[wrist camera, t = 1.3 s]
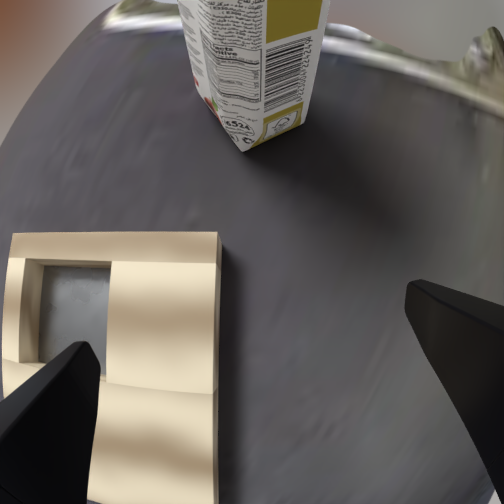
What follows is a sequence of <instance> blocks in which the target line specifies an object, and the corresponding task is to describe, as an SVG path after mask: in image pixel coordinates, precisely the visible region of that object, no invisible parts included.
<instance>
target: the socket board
mask: <svg viewBox="0 0 504 504" xmlns="http://www.w3.org/2000/svg"><path fill="white" fill-rule="evenodd" d="M221 259H222V243H221V240H220V238H219V235H218V232H52V233H13V237H12V242H11V248H10V254H9V261H8V268H7V276H6V285H5V296H4V308H3V327H2V373H3V392H4V399H5V398H6V397H7V396H8V395H9V394H11V393H12V392H13V391H14V390H15V389H17V388H18V387H19V386H20V385H21V384H23V383H24V382H25V381H26V380H27V379H29V378H30V377H31V376H32V375H34V374H35V373H36V372H37V371H38V370H40V369H41V368H42V367H43V366H45V365H46V364H47V363H48V362H50V361H51V360H52V359H53V358H55V357H56V356H57V355H58V354H60V353H61V352H62V351H63V350H65V349H66V348H67V347H68V346H70V345H71V344H72V343H73V342H76V341H87V342H89V343H90V345H91V347H92V349H93V351H94V353H95V355H96V356H97V358H98V360H99V362H100V365H101V376H100V388H99V402H98V414H97V422H96V428H95V434H94V441H93V448H92V456H91V464H90V473H89V483H88V494H87V499H89V500H92V501H95V502H99V503H102V504H219V496H218V366H219V319H220V286H221Z"/></svg>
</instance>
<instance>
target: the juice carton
mask: <svg viewBox="0 0 504 504" xmlns="http://www.w3.org/2000/svg"><path fill="white" fill-rule="evenodd" d="M330 1H331V0H177V2H178V7H179V11H180V16H181V21H182V25H183V30H184V35H185V39H186V44H187V48H188V53H189V57H190V62H191V66H192V71H193V75H194V80H195V84H196V88H197V90H198V92H199V94H200V96H201V97H202V98H203V100H204V101H205V103H206V104H207V105H208V107H209V108H210V109H211V111H212V112H213V113H214V114H215V115H216V116H217V118H218V119H219V121H220V123H221V124H222V126H223V127H224V129H225V130H226V131H227V133H228V134H229V136H230V137H231V139H232V140H233V141H234V143H235V144H236V146H237V147H238V148H239V149H240V150H241V151H242V152H244V151H246V150H249V149H251V148H253V147H255V146H257V145H259V144H261V143H263V142H265V141H267V140H269V139H271V138H273V137H275V136H277V135H280V134H282V133H284V132H286V131H288V130H290V129H292V128H295V127H297V126H299V125H301V124H302V123H304V121H305V118H306V115H307V111H308V107H309V102H310V98H311V93H312V88H313V84H314V79H315V74H316V70H317V65H318V60H319V55H320V51H321V46H322V41H323V36H324V31H325V26H326V21H327V16H328V11H329V6H330Z"/></svg>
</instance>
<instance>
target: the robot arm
mask: <svg viewBox="0 0 504 504" xmlns="http://www.w3.org/2000/svg"><path fill="white" fill-rule="evenodd" d="M405 313H406V316H407V318H408V320H409V322H410V324H411V326H412V328H413V330H414V332H415V334H416V337H417V339H418V341H419V343H420V345H421V347H422V349H423V351H424V353H425V355H426V357H427V359H428V361H429V362H430V364H431V366H432V367H433V369H434V371H435V373H436V374H437V376H438V378H439V379H440V381H441V383H442V385H443V386H444V388H445V390H446V392H447V393H448V395H449V397H450V399H451V401H452V402H453V404H454V406H455V408H456V410H457V412H458V413H459V415H460V417H461V419H462V421H463V423H464V425H465V427H466V429H467V430H468V432H469V434H470V436H471V438H472V440H473V442H474V444H475V446H476V448H477V450H478V452H479V454H480V457H481V459H482V461H483V463H484V465H485V467H486V469H487V472H488V474H489V476H490V478H491V481H492V483H493V485H494V487H495V490H496V492H497V494H498V497H499V499H500V501H501V504H504V306H502V305H499V304H496V303H493V302H490V301H487V300H484V299H481V298H478V297H475V296H472V295H469V294H466V293H463V292H460V291H457V290H454V289H450V288H447V287H444V286H441V285H438V284H435V283H432V282H429V281H426V280H422V279H419V280H415V281H411V282H409V283H408V285H407V289H406V298H405ZM100 376H101V365H100V362H99V360H98V358H97V356H96V355H95V353H94V351H93V349H92V347H91V345H90V343H89V342H87V341H76V342H73V343H72V344H71V345H70V346H68V347H67V348H66V349H65V350H63V351H62V352H61V353H60V354H58V355H57V356H56V357H55V358H53V359H52V360H51V361H50V362H48V363H47V364H46V365H45V366H43V367H42V368H41V369H40V370H38V371H37V372H36V373H35V374H34V375H32V376H31V377H30V378H29V379H27V380H26V381H25V382H24V383H23V384H21V385H20V386H19V387H18V388H17V389H15V390H14V391H13V392H12V393H11V394H9V395H8V396H7V397H6V398H5V399H3V400H2V401H1V402H0V504H87V494H88V483H89V473H90V464H91V456H92V448H93V441H94V434H95V428H96V422H97V414H98V402H99V388H100Z"/></svg>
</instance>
